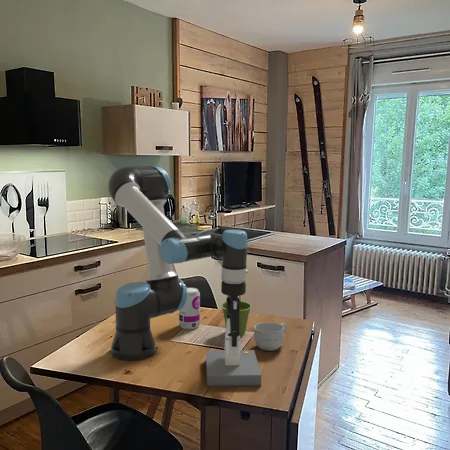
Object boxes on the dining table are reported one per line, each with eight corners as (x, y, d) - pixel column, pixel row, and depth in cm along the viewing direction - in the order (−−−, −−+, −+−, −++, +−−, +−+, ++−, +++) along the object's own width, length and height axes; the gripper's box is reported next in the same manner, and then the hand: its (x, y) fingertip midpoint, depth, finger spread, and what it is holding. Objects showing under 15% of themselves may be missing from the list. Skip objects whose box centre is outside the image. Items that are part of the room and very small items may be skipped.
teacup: (263, 356, 159) (264, 333, 158) (247, 344, 168) (248, 323, 167) (296, 349, 165) (297, 327, 164) (279, 338, 175) (280, 318, 174)
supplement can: (203, 325, 187) (203, 289, 185) (191, 331, 180) (191, 294, 178) (187, 321, 191) (187, 286, 189) (174, 327, 184) (174, 290, 182)
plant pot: (214, 332, 180) (214, 304, 178) (238, 325, 187) (238, 298, 185) (233, 341, 171) (233, 312, 169) (257, 334, 178) (258, 306, 176)
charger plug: (225, 374, 144) (225, 337, 142) (224, 367, 148) (224, 332, 146) (239, 374, 144) (240, 337, 142) (238, 367, 148) (239, 332, 147)
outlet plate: (207, 386, 137) (207, 374, 136) (206, 360, 154) (206, 349, 154) (261, 386, 138) (261, 374, 137) (253, 360, 155) (253, 349, 155)
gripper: (250, 292, 130) (248, 364, 133) (242, 270, 154) (240, 331, 158) (223, 292, 129) (222, 364, 132) (219, 270, 154) (217, 331, 157)
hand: (231, 346), depth 145 cm, fingers open, 13 cm apart
